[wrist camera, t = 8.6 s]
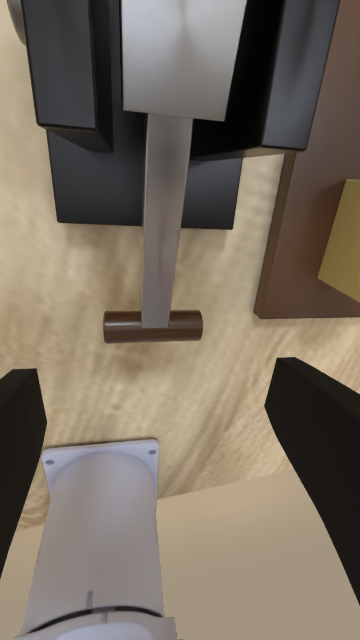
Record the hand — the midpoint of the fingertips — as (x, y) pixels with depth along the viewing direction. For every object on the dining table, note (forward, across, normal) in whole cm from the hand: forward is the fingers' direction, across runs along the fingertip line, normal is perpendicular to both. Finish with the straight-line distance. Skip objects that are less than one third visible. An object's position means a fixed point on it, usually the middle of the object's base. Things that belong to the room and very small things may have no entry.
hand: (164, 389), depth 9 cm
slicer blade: (+3, 0, -5) cm, 6 cm away
